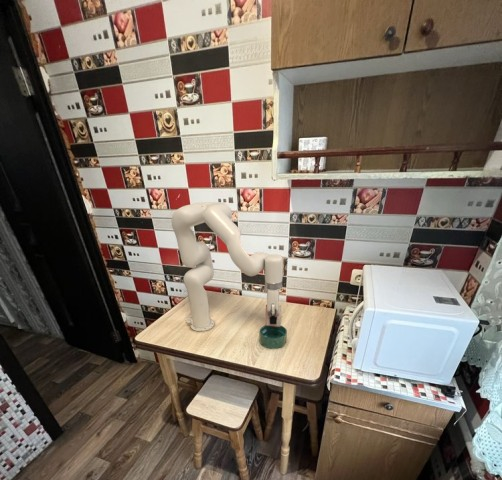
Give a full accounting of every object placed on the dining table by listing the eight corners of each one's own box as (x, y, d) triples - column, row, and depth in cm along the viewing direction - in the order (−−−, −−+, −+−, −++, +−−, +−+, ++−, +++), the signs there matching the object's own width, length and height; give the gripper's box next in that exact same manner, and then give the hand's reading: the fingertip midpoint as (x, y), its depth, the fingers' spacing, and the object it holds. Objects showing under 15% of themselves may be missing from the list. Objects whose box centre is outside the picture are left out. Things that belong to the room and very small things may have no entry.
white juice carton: (266, 321, 132) (266, 302, 126) (280, 322, 130) (281, 303, 125) (265, 325, 129) (265, 306, 123) (279, 326, 127) (280, 307, 122)
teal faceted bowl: (262, 350, 129) (262, 340, 125) (257, 335, 139) (257, 325, 136) (289, 347, 130) (290, 336, 127) (282, 332, 141) (282, 322, 138)
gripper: (265, 277, 126) (265, 312, 136) (264, 292, 112) (264, 330, 122) (282, 277, 125) (281, 312, 135) (282, 292, 111) (281, 330, 121)
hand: (273, 320), depth 128 cm, fingers closed on white juice carton, 4 cm apart
